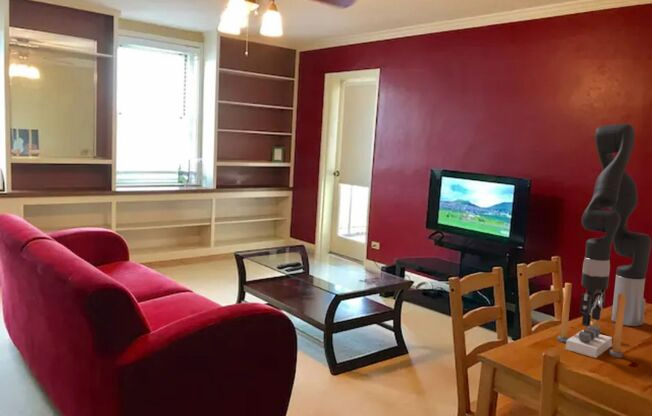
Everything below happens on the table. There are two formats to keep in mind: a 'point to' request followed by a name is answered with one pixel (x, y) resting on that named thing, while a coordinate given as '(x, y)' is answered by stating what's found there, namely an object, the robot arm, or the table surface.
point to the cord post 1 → (565, 313)
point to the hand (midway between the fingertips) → (590, 322)
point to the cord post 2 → (618, 327)
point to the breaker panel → (589, 345)
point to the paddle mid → (592, 332)
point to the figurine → (595, 323)
